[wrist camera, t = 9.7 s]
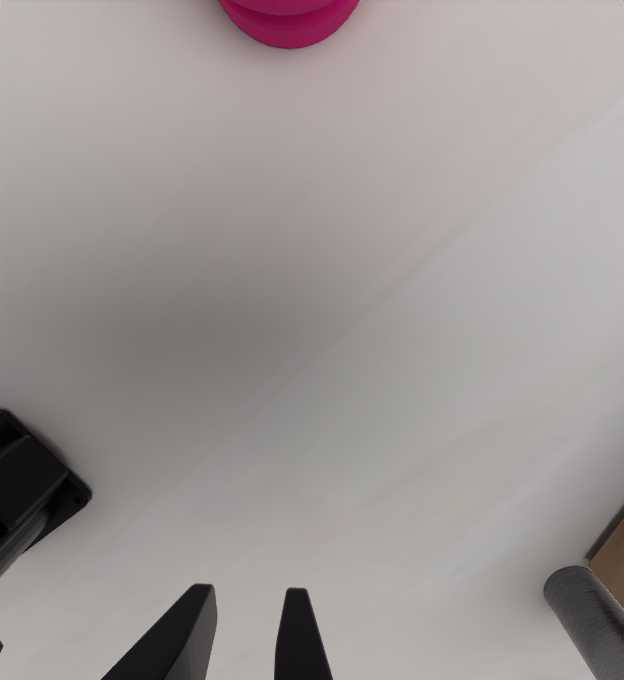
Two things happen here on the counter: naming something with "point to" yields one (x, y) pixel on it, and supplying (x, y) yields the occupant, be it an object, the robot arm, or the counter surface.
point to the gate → (611, 564)
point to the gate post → (589, 619)
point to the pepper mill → (289, 19)
